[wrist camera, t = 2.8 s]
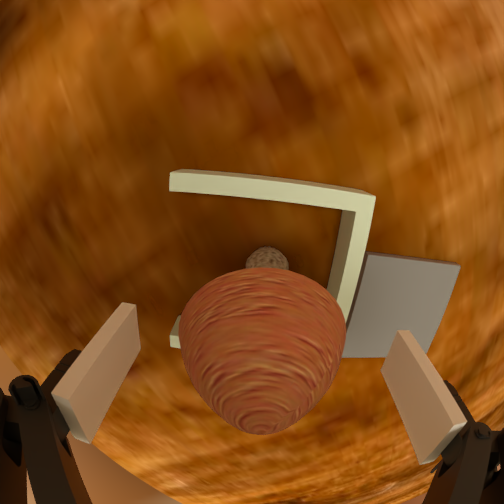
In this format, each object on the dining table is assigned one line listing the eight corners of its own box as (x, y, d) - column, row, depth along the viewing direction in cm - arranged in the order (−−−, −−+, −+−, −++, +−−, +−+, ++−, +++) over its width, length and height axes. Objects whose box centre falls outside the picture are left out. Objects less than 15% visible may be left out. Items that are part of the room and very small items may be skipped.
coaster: (336, 351, 25) (338, 357, 25) (364, 251, 22) (368, 254, 21) (422, 350, 25) (425, 355, 25) (456, 262, 22) (460, 265, 21)
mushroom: (215, 310, 24) (176, 472, 10) (205, 216, 21) (114, 339, 7) (311, 306, 24) (354, 468, 10) (313, 211, 21) (404, 330, 7)
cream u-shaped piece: (179, 326, 25) (170, 346, 22) (182, 168, 20) (170, 172, 17) (326, 340, 25) (333, 361, 22) (361, 189, 20) (375, 196, 18)
